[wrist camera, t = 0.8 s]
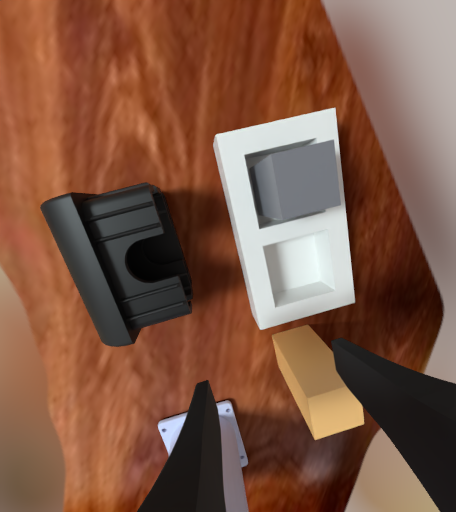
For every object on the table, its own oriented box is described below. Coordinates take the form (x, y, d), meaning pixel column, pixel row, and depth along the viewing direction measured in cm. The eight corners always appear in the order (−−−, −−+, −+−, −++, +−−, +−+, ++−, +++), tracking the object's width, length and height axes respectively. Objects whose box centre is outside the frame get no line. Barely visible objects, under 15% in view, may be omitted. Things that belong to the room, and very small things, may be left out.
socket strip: (335, 290, 24) (384, 321, 17) (252, 313, 23) (272, 355, 17) (314, 121, 20) (369, 84, 13) (213, 145, 19) (220, 117, 13)
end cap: (76, 205, 19) (11, 206, 12) (160, 183, 19) (141, 173, 13) (121, 311, 21) (86, 359, 15) (194, 290, 22) (193, 327, 15)
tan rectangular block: (313, 355, 25) (364, 423, 17) (278, 366, 25) (314, 440, 17) (307, 324, 24) (359, 381, 16) (271, 334, 24) (307, 398, 16)
